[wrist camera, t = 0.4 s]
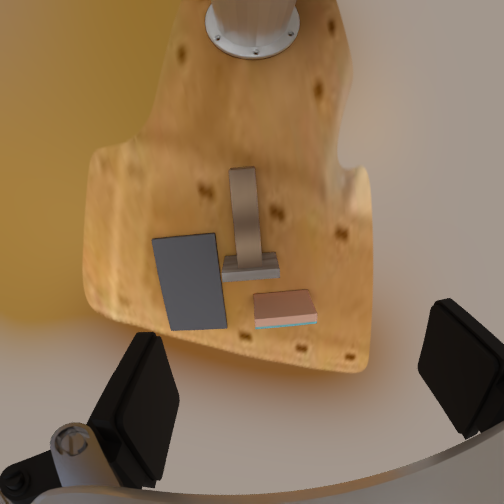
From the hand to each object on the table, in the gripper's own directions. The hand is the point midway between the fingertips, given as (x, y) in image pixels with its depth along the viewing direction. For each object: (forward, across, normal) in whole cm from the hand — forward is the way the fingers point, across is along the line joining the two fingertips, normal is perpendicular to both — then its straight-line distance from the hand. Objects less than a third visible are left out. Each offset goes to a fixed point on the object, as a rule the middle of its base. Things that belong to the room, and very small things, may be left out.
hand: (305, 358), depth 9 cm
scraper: (+32, +2, +1) cm, 32 cm away
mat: (+32, +11, +10) cm, 35 cm away
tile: (+32, -2, +14) cm, 35 cm away
